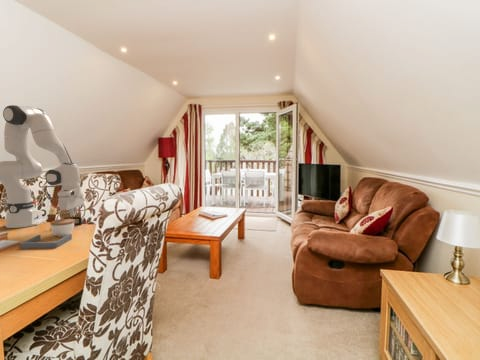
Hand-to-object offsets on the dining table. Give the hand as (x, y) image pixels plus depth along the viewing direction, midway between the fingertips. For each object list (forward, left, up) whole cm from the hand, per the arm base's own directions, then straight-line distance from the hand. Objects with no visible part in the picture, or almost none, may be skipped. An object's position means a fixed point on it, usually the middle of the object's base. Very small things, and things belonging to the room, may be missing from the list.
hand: (73, 215), depth 157 cm
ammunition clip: (-11, -7, -9) cm, 15 cm away
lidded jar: (+10, -1, -9) cm, 13 cm away
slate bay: (+24, -1, -8) cm, 26 cm away
